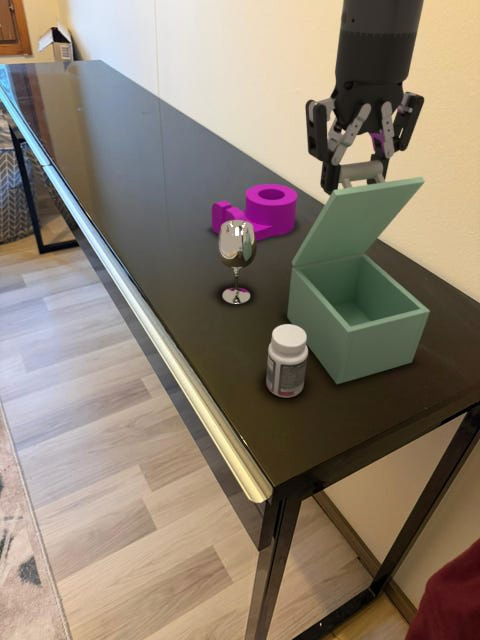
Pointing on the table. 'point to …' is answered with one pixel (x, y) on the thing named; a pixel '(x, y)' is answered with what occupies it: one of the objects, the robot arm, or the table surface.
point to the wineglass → (236, 254)
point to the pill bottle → (287, 361)
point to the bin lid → (355, 213)
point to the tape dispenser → (261, 211)
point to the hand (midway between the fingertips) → (352, 189)
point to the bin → (355, 316)
